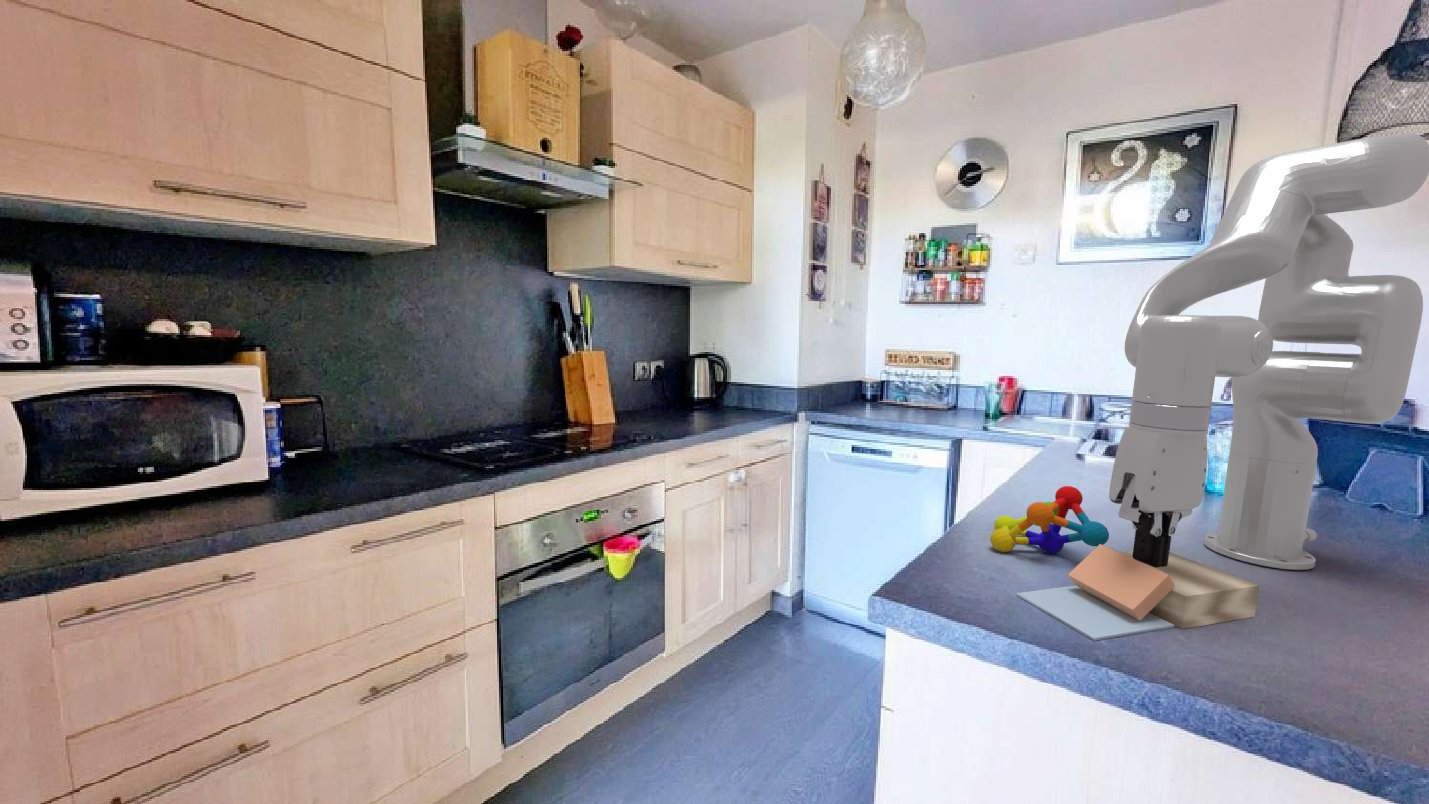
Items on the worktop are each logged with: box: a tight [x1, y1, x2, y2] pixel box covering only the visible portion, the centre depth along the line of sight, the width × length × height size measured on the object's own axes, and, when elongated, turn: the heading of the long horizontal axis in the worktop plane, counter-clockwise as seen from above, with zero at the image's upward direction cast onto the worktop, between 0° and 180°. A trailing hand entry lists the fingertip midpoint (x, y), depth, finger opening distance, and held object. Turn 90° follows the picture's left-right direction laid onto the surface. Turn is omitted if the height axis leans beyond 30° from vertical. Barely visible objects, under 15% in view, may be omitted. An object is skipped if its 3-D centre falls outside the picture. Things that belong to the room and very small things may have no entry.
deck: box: [1119, 550, 1260, 630], centre depth 73 cm, size 12×12×4 cm
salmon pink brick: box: [1067, 544, 1175, 621], centre depth 70 cm, size 6×9×2 cm
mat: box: [1015, 584, 1175, 642], centre depth 69 cm, size 12×11×1 cm
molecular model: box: [989, 485, 1110, 555], centre depth 88 cm, size 15×10×15 cm
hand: (1149, 562), depth 71 cm, fingers closed
